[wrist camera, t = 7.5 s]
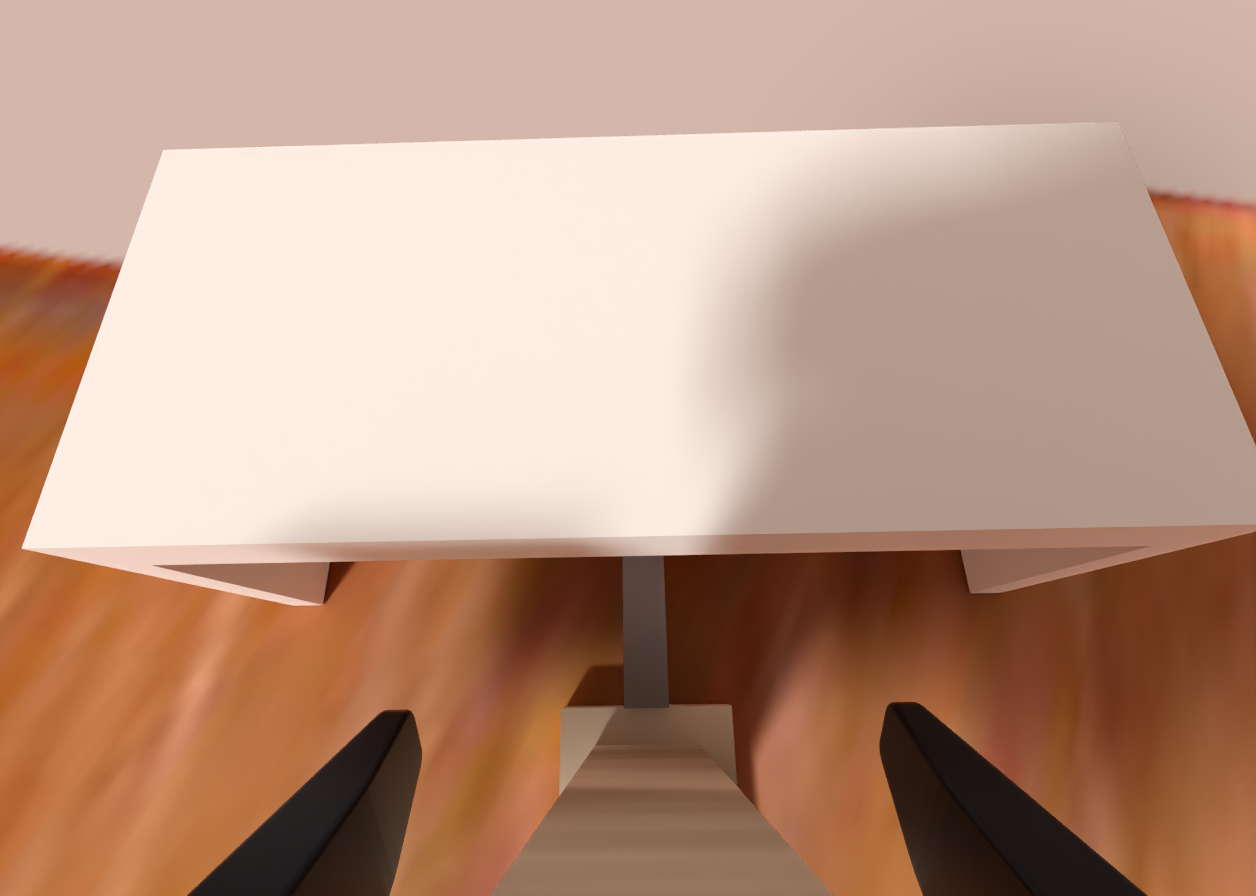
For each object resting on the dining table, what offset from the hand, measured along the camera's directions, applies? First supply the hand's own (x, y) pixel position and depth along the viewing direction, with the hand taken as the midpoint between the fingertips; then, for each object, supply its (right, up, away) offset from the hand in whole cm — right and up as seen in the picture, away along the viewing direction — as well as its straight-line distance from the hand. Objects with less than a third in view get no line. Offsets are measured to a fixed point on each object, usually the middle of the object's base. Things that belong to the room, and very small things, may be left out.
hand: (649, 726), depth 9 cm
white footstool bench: (0, +4, +9) cm, 9 cm away
